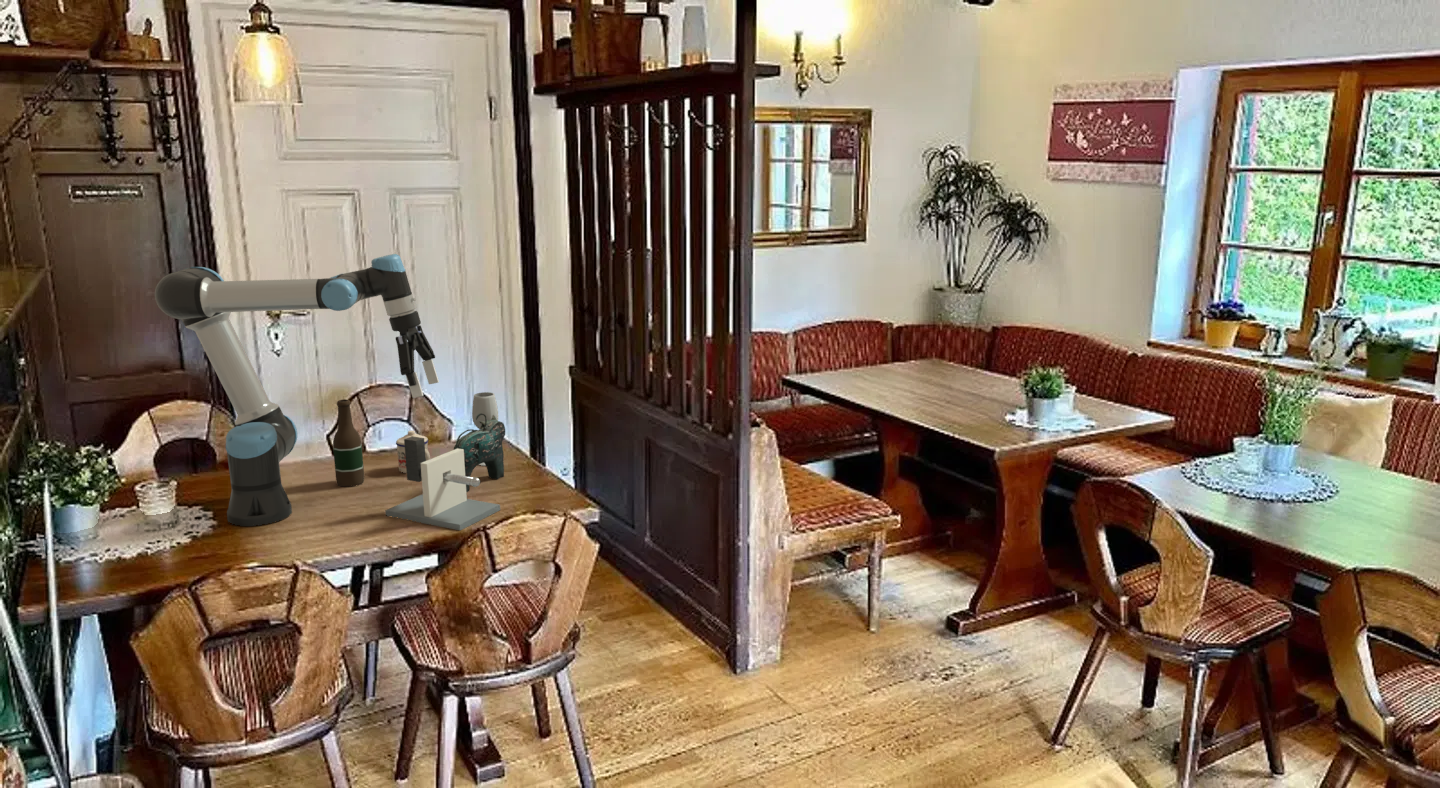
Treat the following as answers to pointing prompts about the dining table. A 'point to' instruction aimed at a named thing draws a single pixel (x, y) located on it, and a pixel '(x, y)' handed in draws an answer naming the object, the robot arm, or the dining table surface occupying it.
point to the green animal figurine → (483, 448)
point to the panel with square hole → (443, 496)
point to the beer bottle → (347, 449)
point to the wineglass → (484, 408)
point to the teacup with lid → (402, 450)
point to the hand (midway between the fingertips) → (426, 389)
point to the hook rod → (417, 456)
